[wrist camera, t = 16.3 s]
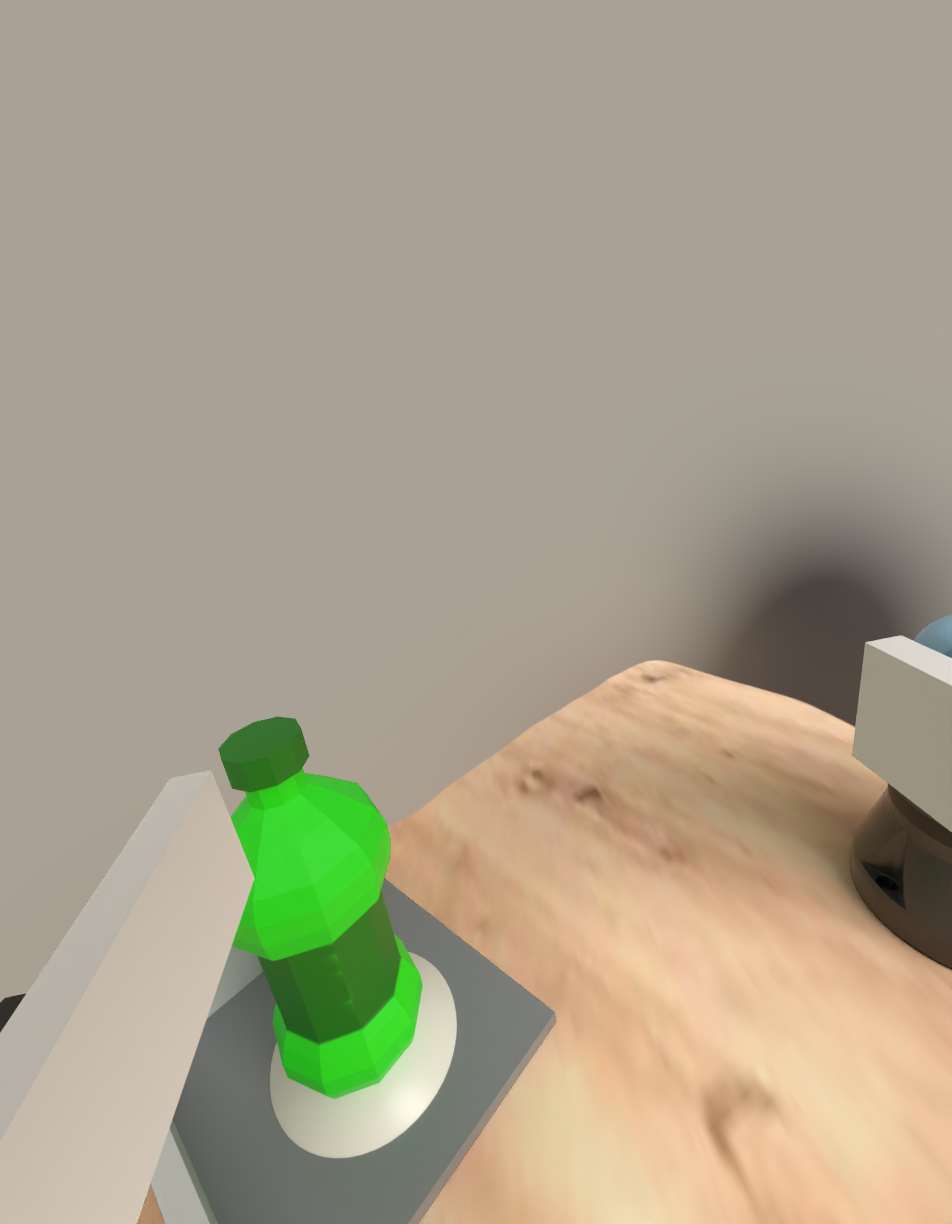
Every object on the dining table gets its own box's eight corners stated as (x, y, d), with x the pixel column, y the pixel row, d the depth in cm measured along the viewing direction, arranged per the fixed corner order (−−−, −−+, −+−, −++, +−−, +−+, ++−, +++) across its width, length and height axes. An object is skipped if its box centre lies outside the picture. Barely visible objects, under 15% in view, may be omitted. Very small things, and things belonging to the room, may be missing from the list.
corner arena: (371, 874, 53) (358, 826, 51) (556, 1021, 38) (547, 962, 36) (125, 1079, 38) (92, 1024, 36) (266, 1445, 24) (224, 1387, 21)
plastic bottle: (291, 995, 41) (182, 716, 33) (425, 951, 43) (356, 676, 34) (276, 1158, 32) (118, 830, 23) (448, 1094, 34) (361, 766, 25)
